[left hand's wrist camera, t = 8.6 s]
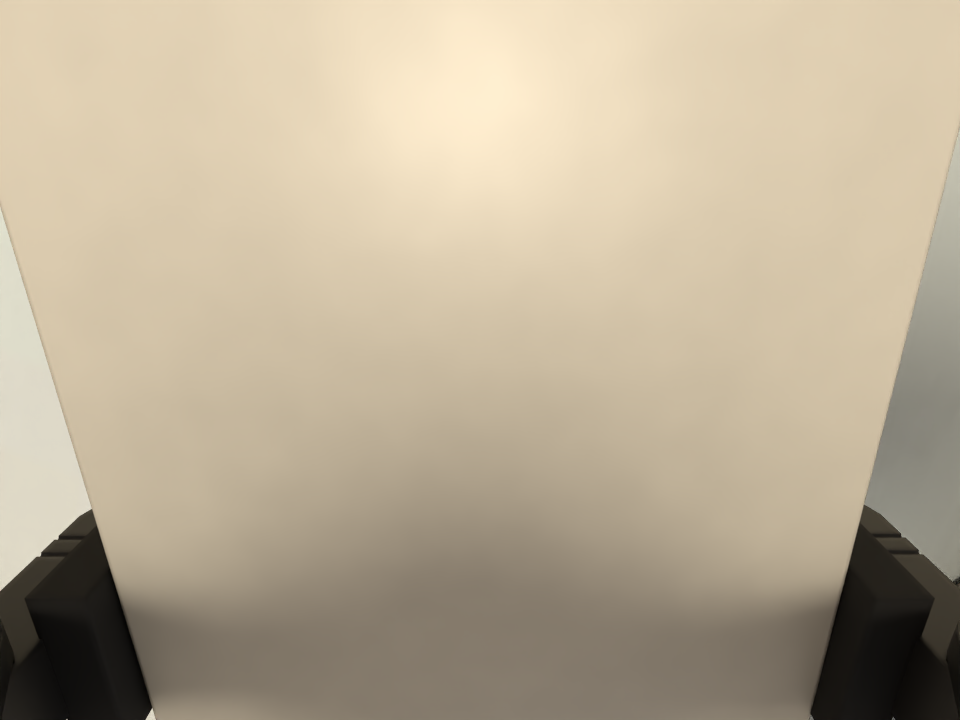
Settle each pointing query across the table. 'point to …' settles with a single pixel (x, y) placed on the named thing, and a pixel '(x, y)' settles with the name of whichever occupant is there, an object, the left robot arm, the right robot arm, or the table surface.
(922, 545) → the table surface
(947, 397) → the table surface
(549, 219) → the thick board
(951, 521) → the table surface
